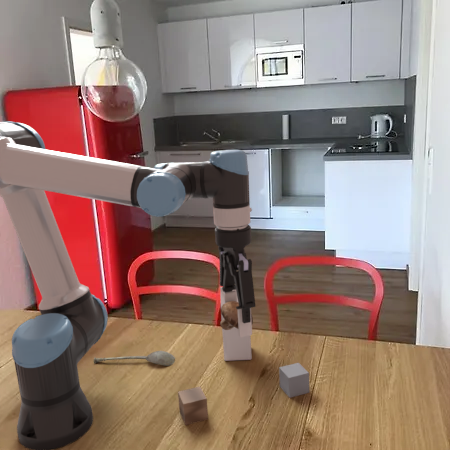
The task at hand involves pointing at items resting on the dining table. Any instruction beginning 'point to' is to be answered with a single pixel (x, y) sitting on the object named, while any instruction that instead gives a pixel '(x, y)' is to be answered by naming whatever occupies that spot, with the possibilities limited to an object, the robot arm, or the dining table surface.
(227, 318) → the mushroom
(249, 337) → the milk carton
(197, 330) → the dining table surface
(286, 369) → the slate-grey block
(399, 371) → the dining table surface
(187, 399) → the walnut block
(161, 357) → the soupspoon
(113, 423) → the dining table surface
